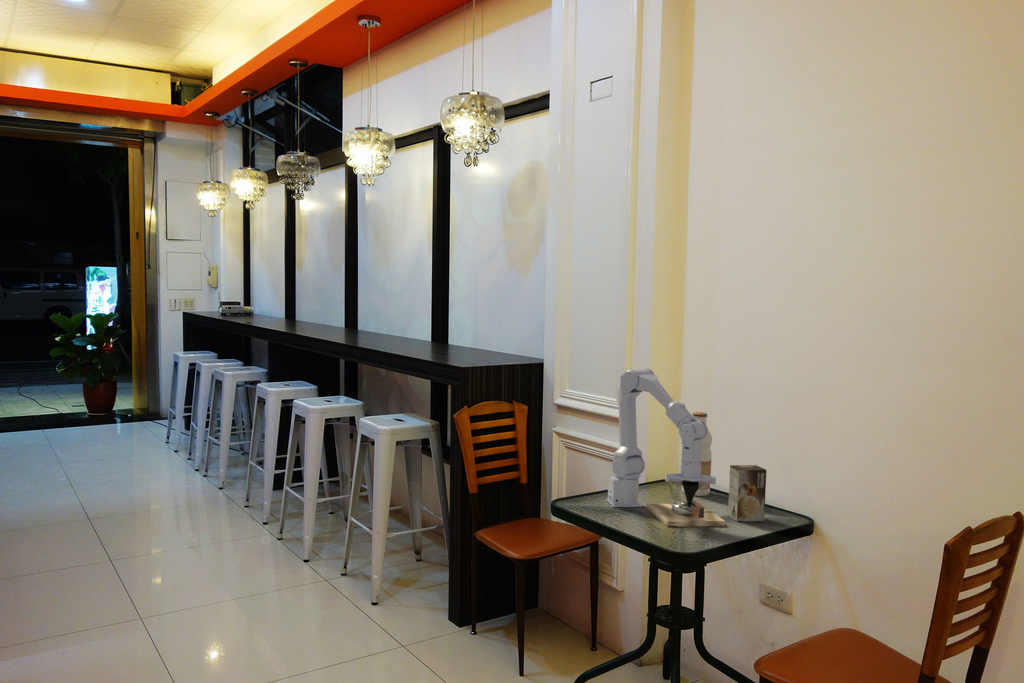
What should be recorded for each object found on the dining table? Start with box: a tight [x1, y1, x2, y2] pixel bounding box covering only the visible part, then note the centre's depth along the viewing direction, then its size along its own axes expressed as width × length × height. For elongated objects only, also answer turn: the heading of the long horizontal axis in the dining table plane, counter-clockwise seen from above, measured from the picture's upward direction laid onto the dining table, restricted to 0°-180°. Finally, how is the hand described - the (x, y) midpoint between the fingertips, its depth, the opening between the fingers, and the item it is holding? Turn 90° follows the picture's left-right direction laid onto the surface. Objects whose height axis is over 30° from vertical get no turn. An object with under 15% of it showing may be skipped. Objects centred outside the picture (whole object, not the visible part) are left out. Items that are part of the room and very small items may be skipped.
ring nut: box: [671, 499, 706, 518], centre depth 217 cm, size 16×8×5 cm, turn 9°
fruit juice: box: [681, 411, 713, 497], centre depth 250 cm, size 9×9×28 cm
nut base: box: [646, 503, 726, 527], centre depth 222 cm, size 20×18×2 cm
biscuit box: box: [727, 464, 767, 522], centre depth 222 cm, size 9×6×16 cm
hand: (688, 506), depth 215 cm, fingers closed
